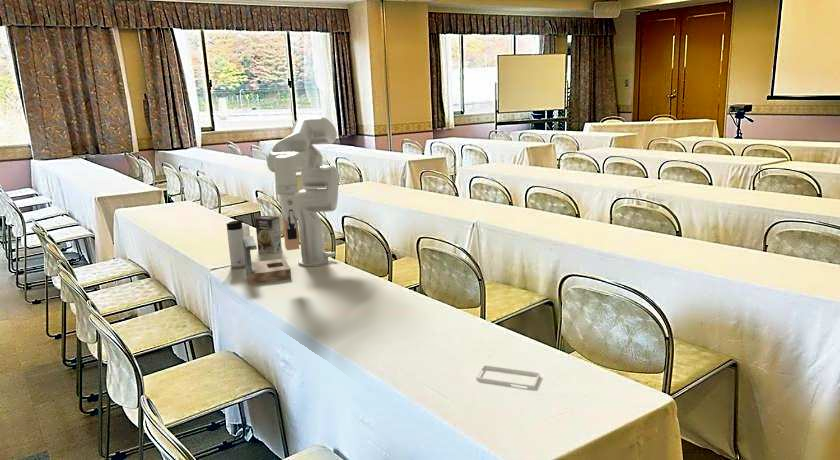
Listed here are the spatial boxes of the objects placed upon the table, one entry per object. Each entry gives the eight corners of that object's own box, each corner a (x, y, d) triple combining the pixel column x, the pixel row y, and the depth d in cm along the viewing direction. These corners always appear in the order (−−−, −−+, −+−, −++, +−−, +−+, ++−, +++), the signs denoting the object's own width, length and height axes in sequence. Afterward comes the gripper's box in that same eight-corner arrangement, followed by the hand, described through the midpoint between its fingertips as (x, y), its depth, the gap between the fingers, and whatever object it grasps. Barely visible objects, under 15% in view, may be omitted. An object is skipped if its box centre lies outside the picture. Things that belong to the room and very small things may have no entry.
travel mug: (243, 269, 257) (238, 222, 252) (228, 268, 258) (223, 222, 253) (249, 264, 263) (245, 219, 258) (235, 264, 264) (230, 218, 259)
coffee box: (257, 252, 282) (254, 218, 278) (266, 248, 287) (262, 215, 283) (274, 254, 278) (271, 219, 274) (282, 250, 284) (279, 216, 280)
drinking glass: (255, 257, 274) (252, 224, 270) (245, 261, 268) (241, 227, 265) (243, 255, 277) (240, 223, 273) (233, 260, 271) (229, 226, 267)
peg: (297, 245, 234) (294, 215, 231) (299, 248, 230) (296, 217, 227) (285, 247, 233) (282, 216, 230) (287, 250, 229) (284, 219, 225)
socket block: (285, 267, 257) (282, 232, 254) (291, 278, 243) (288, 241, 239) (246, 272, 252) (242, 237, 248) (249, 284, 237) (245, 246, 234)
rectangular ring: (540, 377, 158) (483, 369, 163) (540, 372, 158) (483, 364, 163) (534, 391, 151) (475, 382, 157) (534, 386, 151) (475, 377, 156)
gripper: (301, 192, 219) (305, 241, 224) (293, 184, 234) (297, 230, 239) (280, 194, 217) (284, 244, 221) (273, 186, 232) (277, 233, 237)
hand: (291, 236), depth 230 cm, fingers closed on peg, 4 cm apart
